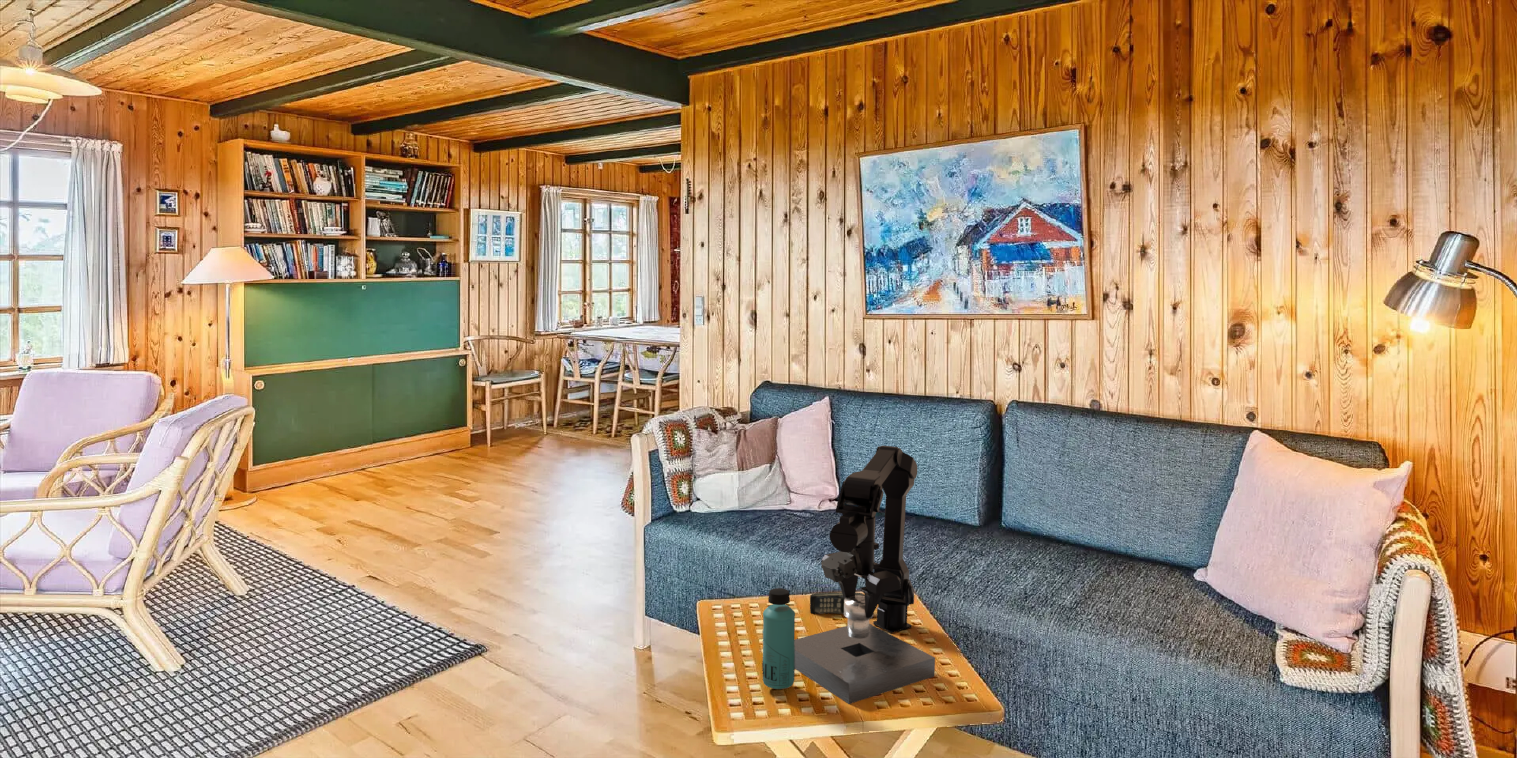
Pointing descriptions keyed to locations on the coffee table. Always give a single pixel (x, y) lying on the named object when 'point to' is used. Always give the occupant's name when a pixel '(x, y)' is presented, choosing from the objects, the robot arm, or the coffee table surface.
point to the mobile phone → (828, 603)
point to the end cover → (856, 616)
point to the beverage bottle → (778, 641)
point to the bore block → (861, 663)
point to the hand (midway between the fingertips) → (858, 612)
